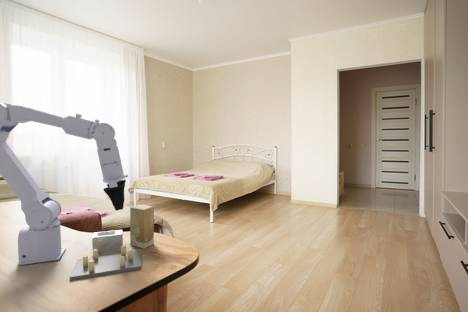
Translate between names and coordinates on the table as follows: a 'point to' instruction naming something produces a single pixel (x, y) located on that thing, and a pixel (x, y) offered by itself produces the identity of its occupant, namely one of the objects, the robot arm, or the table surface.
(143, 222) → the skincare box
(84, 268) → the grey peg board
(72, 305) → the table surface
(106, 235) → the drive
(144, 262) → the table surface
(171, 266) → the table surface
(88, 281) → the table surface
